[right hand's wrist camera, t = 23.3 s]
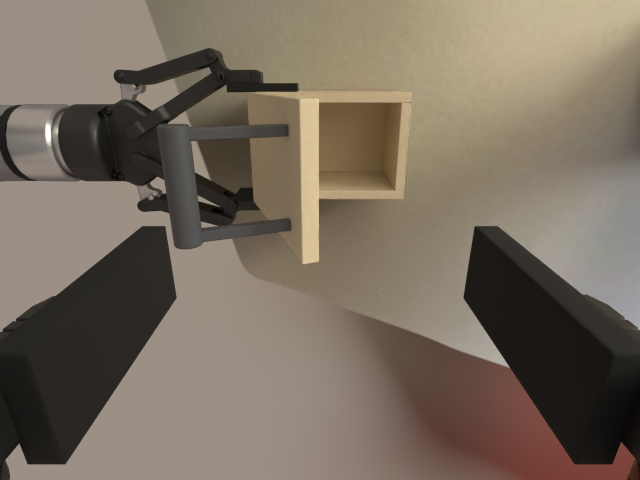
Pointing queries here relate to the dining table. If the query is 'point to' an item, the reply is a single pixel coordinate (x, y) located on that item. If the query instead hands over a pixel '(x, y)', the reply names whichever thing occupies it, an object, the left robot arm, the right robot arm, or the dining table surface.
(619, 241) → the dining table surface
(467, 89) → the dining table surface
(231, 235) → the lid
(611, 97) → the dining table surface
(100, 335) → the right robot arm
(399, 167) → the chest
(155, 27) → the dining table surface
